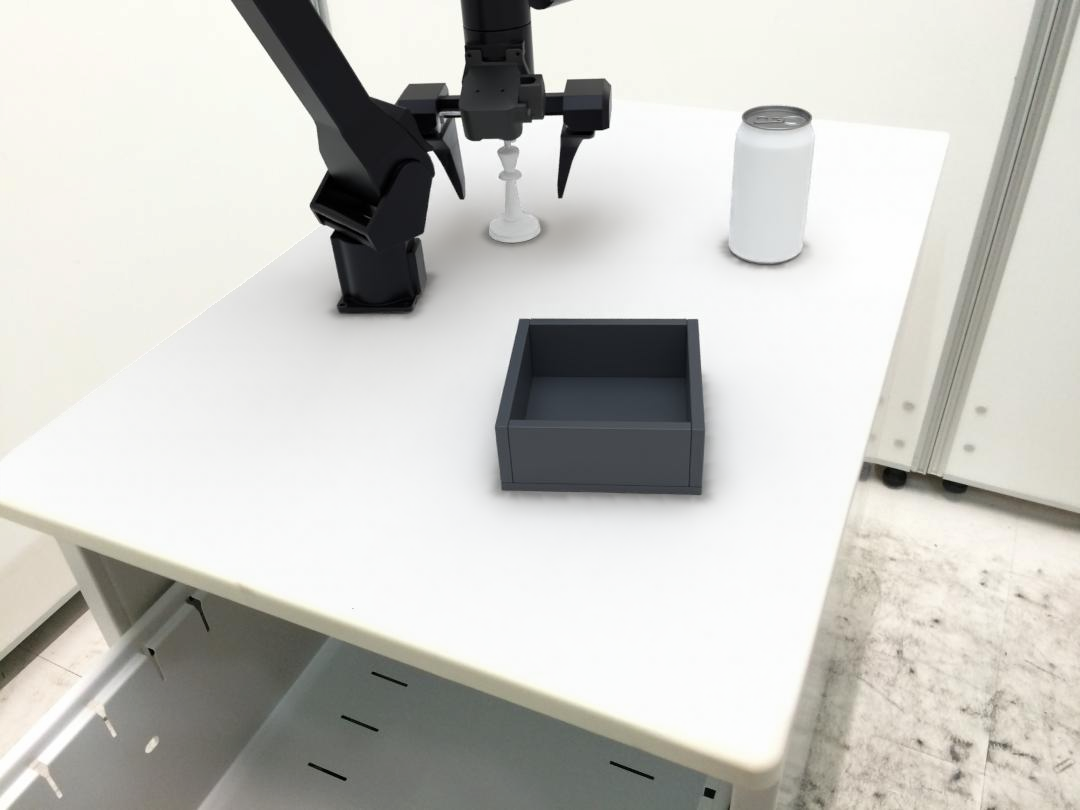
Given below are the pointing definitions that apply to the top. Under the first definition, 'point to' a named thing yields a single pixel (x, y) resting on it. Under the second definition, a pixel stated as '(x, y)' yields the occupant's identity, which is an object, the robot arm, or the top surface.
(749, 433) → the top surface
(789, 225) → the can
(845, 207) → the top surface
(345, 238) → the robot arm
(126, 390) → the top surface
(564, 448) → the dark grey storage bin
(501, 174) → the chess piece
